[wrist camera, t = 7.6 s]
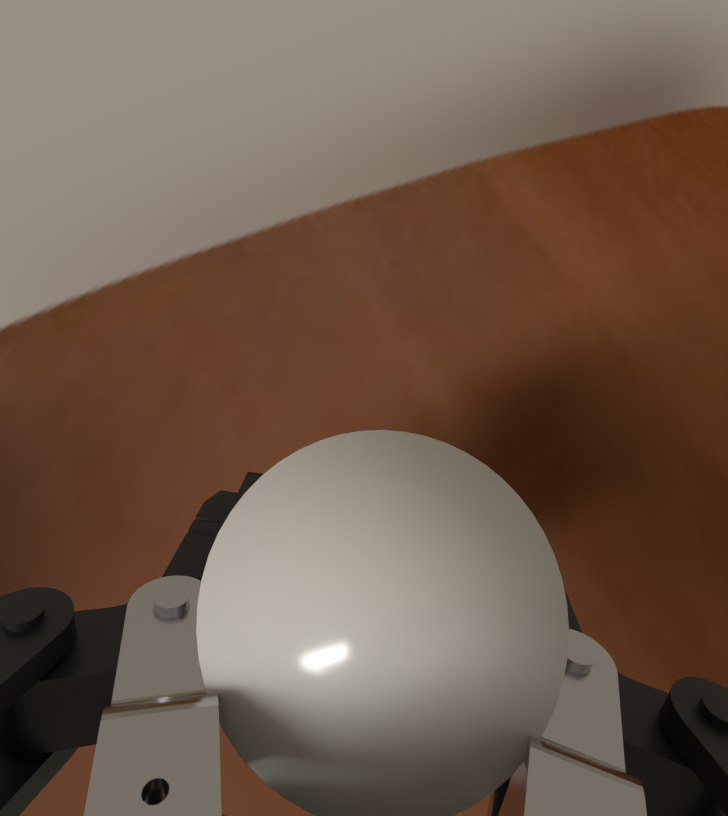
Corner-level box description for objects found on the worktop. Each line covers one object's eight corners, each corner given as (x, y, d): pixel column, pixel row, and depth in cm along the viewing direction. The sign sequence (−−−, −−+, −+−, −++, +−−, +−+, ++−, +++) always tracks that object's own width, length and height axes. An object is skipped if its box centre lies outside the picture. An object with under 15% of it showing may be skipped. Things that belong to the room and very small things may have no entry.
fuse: (287, 527, 17) (239, 408, 8) (436, 548, 17) (567, 453, 8) (258, 695, 15) (151, 800, 6) (424, 717, 15) (571, 855, 6)
